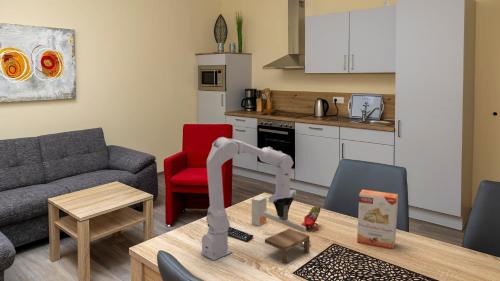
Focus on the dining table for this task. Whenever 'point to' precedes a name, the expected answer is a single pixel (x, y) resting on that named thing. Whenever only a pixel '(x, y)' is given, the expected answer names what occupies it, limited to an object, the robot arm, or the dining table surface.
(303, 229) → the grey hammer
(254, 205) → the skincare box
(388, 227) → the cracker box
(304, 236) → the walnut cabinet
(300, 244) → the steel disc
